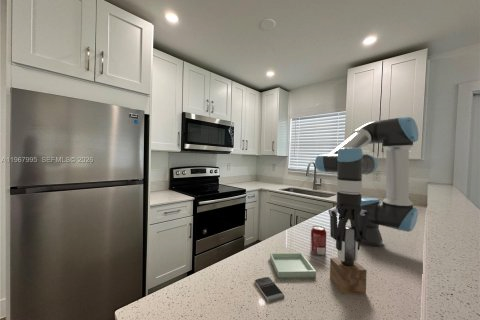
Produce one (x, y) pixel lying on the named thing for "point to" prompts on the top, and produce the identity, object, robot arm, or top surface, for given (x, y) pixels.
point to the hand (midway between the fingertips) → (347, 258)
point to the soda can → (318, 240)
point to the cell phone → (269, 289)
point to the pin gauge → (349, 245)
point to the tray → (292, 265)
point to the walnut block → (348, 277)
